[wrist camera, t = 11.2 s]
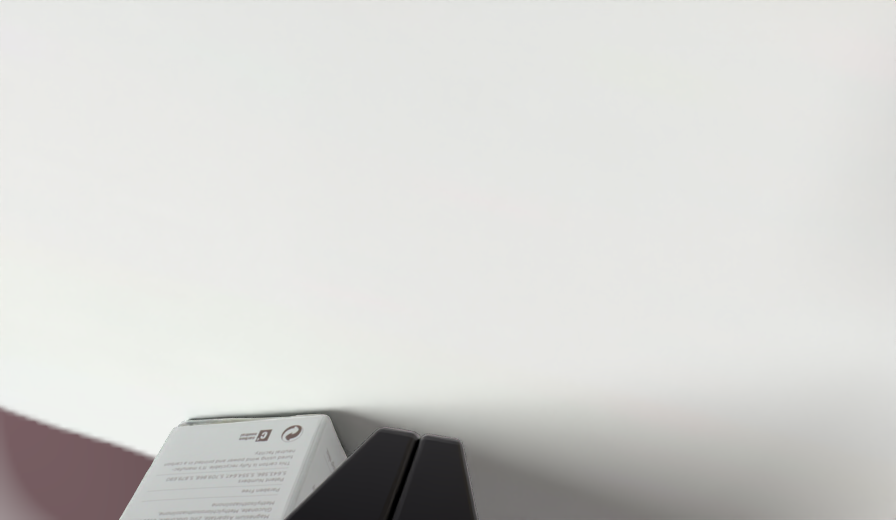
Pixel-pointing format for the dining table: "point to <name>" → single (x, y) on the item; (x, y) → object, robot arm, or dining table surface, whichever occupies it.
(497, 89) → the dining table surface
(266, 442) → the skincare box
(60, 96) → the dining table surface
